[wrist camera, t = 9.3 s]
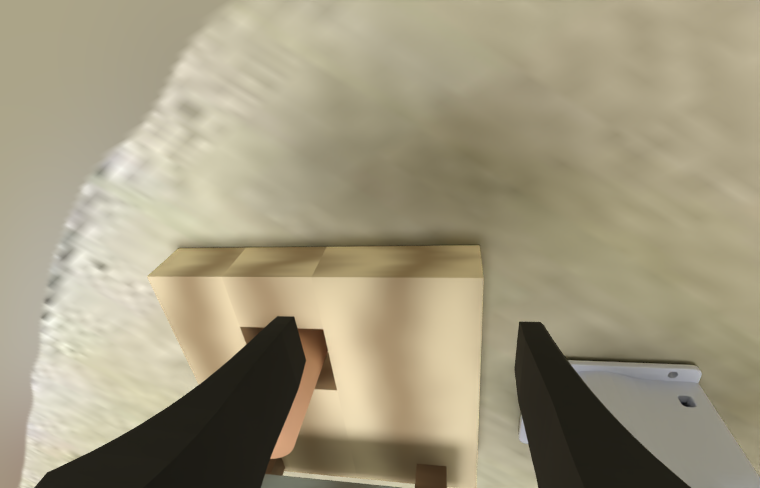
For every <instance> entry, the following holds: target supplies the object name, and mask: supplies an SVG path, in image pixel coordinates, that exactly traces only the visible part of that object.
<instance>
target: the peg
mask: <svg viewBox="0 0 760 488" xmlns="http://www.w3.org/2000/svg"><path fill="white" fill-rule="evenodd" d="M298 332H299V336H300V339H301V343H302V347H303V351H304V354H305V358H306V363H305V367H304V371H303V375H302V379H301V382H300V386H299V389H298V392H297V394H296V397H295V399H294V402H293V404H292V407H291V409H290V412H289V414H288V416H287V419H286V421H285V424H284V426H283V428H282V431H281V433H280V436H279V438H278V440H277V443H276V445H275V448H274V450H273V453H272V455H271V458H270V459H276V458H281V457H284V456H286V455H288V454H289V453H290V452H291V451H292V450H293V448H294V446H295V443H296V440H297V437H298V434H299V431H300V429H301V426H302V423H303V420H304V417H305V414H306V412H307V409H308V406H309V403H310V400H311V397H312V395H313V392H314V389H315V386H316V383H317V380H318V378H319V375H320V372H321V369H322V366H323V363H324V361H325V358H326V355H327V352H328V348H327V344H326V339H325V335H324V331H323V329H301V328H298Z"/></svg>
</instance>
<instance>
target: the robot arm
mask: <svg viewBox="0 0 760 488" xmlns="http://www.w3.org/2000/svg"><path fill="white" fill-rule="evenodd" d="M305 363H306V358H305V354H304V351H303V347H302V343H301V339H300V336H299V332H298V328H297V325H296V321H295V317H294V316H277V317H276V318H275V319H273V320H272V321H271V322H270V323H269V324H268V325H267V326H266V327H265V328H264V329H263V330H261V331H260V332H259V333H258V334H257V335H256V336H255V337H254V338H253V339H252V340H251V341H250V342H249V343H247V344H246V345H245V346H244V347H243V348H242V349H241V350H240V351H239V352H238V353H236V354H235V355H234V356H233V357H232V358H231V359H230V360H229V361H227V362H226V363H225V364H224V365H223V366H221V367H220V368H219V369H218V370H217V371H215V372H214V373H213V374H212V375H211V376H209V377H208V378H207V379H206V380H205V381H203V382H202V383H201V384H199V385H198V386H197V387H195V388H194V389H193V390H191V391H190V392H189V393H187V394H186V395H185V396H183V397H182V398H180V399H179V400H178V401H176V402H175V403H173V404H172V405H170V406H169V407H167V408H166V409H164V410H163V411H161V412H159V413H158V414H156V415H155V416H153V417H152V418H150V419H148V420H147V421H145V422H144V423H142V424H140V425H139V426H137V427H136V428H134V429H132V430H130V431H129V432H127V433H125V434H123V435H122V436H120V437H118V438H116V439H114V440H112V441H111V442H109V443H107V444H105V445H103V446H101V447H99V448H97V449H95V450H94V451H92V452H90V453H88V454H85V455H83V456H81V457H79V458H77V459H75V460H73V461H71V462H69V463H67V464H65V465H63V466H60V467H58V468H56V469H54V470H52V471H50V472H47V474H46V475H45V476H44V477H43V478H42V479H41V480H40V482H39V483H38V484H37V485H36V486H35V487H34V488H261V486H262V482H263V479H264V476H265V473H266V469H267V466H268V463H269V461H270V458H271V455H272V453H273V450H274V448H275V445H276V443H277V440H278V438H279V436H280V433H281V431H282V428H283V426H284V424H285V421H286V419H287V416H288V414H289V412H290V409H291V407H292V404H293V402H294V399H295V397H296V394H297V392H298V389H299V386H300V382H301V379H302V375H303V371H304V367H305ZM670 372H671V373H670ZM701 376H702V372H701V371H700V369H699V368H698V367H697V366H695V365H681V364H655V363H629V362H603V361H578V360H567V359H566V358H565V356H564V355H563V353H562V352H561V351H560V349H559V348H558V346H557V345H556V343H555V342H554V340H553V339H552V337H551V336H550V334H549V333H548V331H547V330H546V328H545V326H544V325H543V324H542V323H541V322H519V329H518V339H517V350H516V360H515V377H516V386H517V394H518V402H519V406H520V410H521V416H520V424H519V433H518V435H519V440H520V441H521V442H522V443H526V444H529V448H530V452H531V457H532V461H533V465H534V469H535V473H536V478H537V483H538V488H760V477H759V475H758V473H757V472H756V470H755V469H754V467H753V466H752V464H751V463H750V461H749V460H748V458H747V457H746V455H745V454H744V452H743V450H742V449H741V447H740V446H739V444H738V443H737V441H736V440H735V438H734V437H733V435H732V434H731V432H730V431H729V429H728V427H727V426H726V424H725V423H724V421H723V420H722V418H721V417H720V415H719V414H718V412H717V411H716V409H715V408H714V406H713V405H712V403H711V401H710V400H709V398H708V397H707V395H706V394H705V392H704V391H703V389H702V388H701V386H700V385H699V381H700V378H701Z"/></svg>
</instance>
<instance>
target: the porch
mask: <svg viewBox="0 0 760 488" xmlns="http://www.w3.org/2000/svg"><path fill="white" fill-rule="evenodd" d="M147 277H148V280H149V282H150V284H151V286H152V288H153V290H154V292H155V294H156V296H157V298H158V300H159V303H160V305H161V307H162V309H163V311H164V313H165V315H166V317H167V319H168V321H169V323H170V325H171V328H172V330H173V332H174V334H175V336H176V338H177V340H178V342H179V344H180V346H181V348H182V351H183V353H184V355H185V357H186V359H187V361H188V363H189V365H190V367H191V369H192V371H193V374H194V376H195V378H196V380H197V382H198V384H201V383H202V382H203V381H205V380H206V379H207V378H208V377H209V376H211V375H212V374H213V373H214V372H215V371H217V370H218V369H219V368H220V367H221V366H223V365H224V364H225V363H226V362H227V361H229V360H230V359H231V358H232V357H233V356H234V355H235V354H236V353H238V352H239V351H240V350H241V349H242V348H243V347H244V346H245V345H246V344H247V343H249V342H250V341H251V340H252V339H253V338H254V337H255V336H256V335H257V334H258V333H259V332H260V331H261V330H263V329H264V328H265V327H266V326H267V325H268V324H269V323H270V322H271V321H272V320H273V319H275V318H276V317H277V316H294V317H295V321H296V325H297V328H301V329H323V331H324V335H325V339H326V344H327V348H328V352H329V353H327V355H326V358H325V361H324V363H323V366H322V369H321V372H320V375H319V378H318V380H317V383H316V386H315V389H314V392H313V395H312V397H311V400H310V403H309V406H308V409H307V412H306V414H305V417H304V420H303V423H302V426H301V429H300V431H299V434H298V437H297V440H296V443H295V446H294V448H293V450H292V451H291V452H290V453H289V454H288V455H286V456H284V457H281V458H276V459H270V461H269V463H268V466H267V469H266V473H265V476H264V479H263V482H262V486H261V488H400V487H390V486H380V485H370V484H360V483H350V482H340V481H330V480H320V479H310V478H300V477H290V476H282V475H283V472H284V471H288V472H299V473H309V474H319V475H330V476H340V477H350V478H360V479H371V480H381V481H391V482H402V483H412V484H415V488H447V487H453V488H476V484H477V455H478V426H479V397H480V368H481V339H482V310H483V282H484V277H483V269H482V260H481V252H480V245H452V246H353V247H254V248H178V249H177V250H176V251H175V252H174V253H173V254H172V255H170V256H169V257H168V258H167V259H166V260H165V261H164V262H163V263H162V264H160V265H159V266H158V267H157V268H156V269H155V270H154V271H153V272H152V273H150V274H149V275H148V276H147Z"/></svg>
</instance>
